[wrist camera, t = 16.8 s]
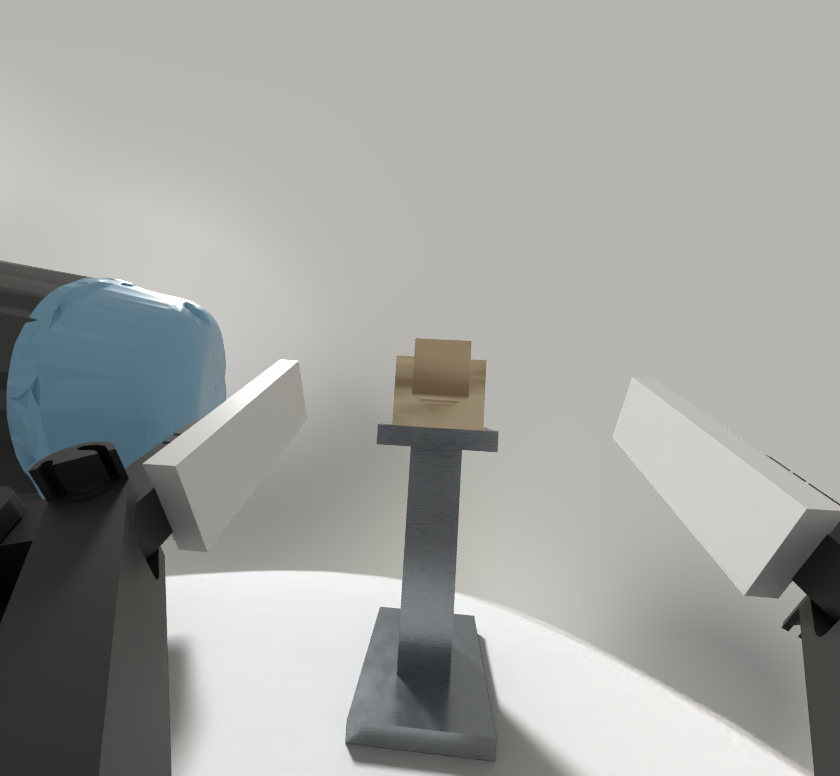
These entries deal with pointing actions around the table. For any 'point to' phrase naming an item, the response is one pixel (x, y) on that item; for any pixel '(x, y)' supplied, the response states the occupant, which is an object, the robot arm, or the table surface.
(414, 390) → the mallet
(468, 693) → the stand
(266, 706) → the table surface
